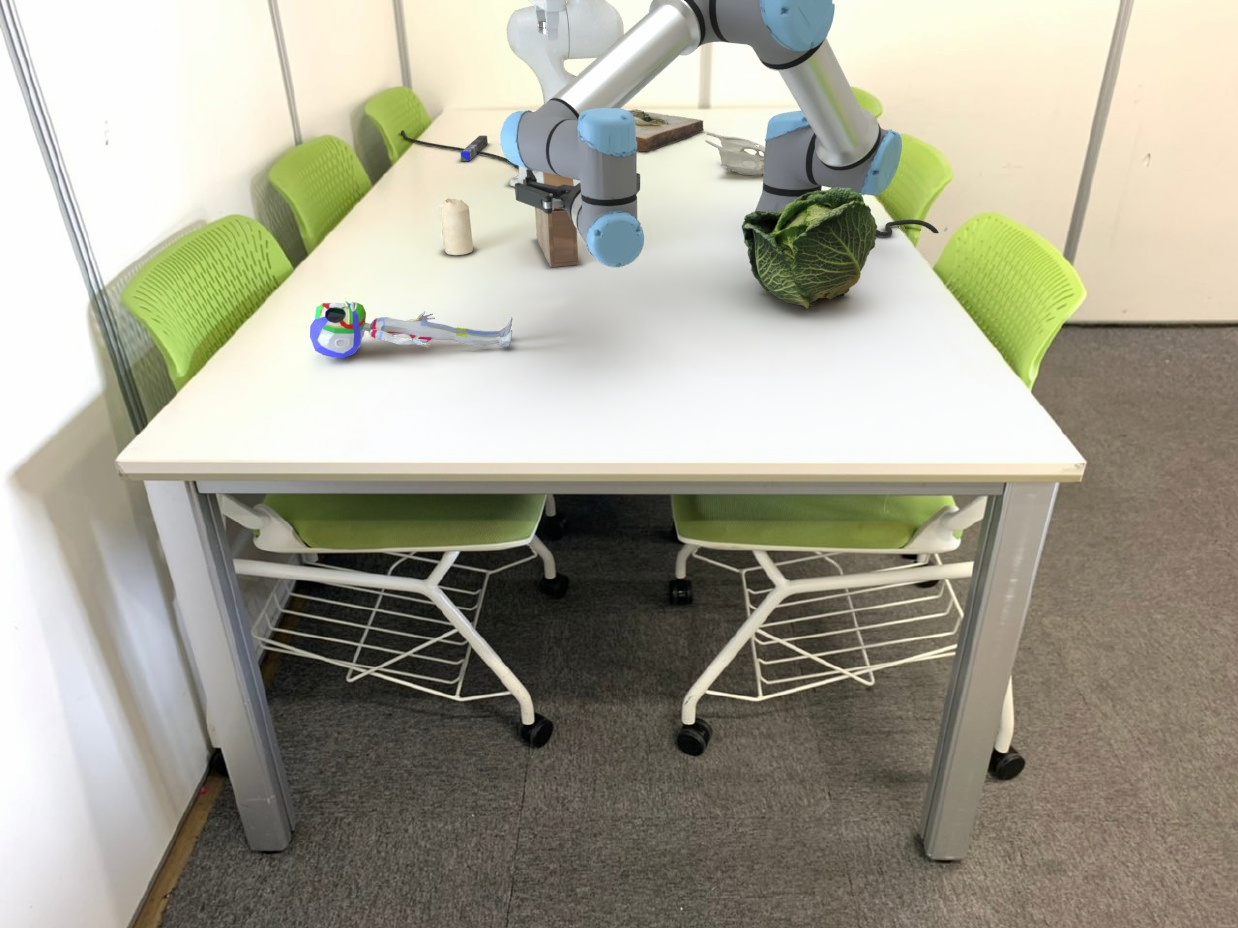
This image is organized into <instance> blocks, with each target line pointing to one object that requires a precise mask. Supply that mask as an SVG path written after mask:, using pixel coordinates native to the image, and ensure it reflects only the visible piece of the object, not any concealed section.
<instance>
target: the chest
mask: <svg viewBox="0 0 1238 928" xmlns="http://www.w3.org/2000/svg"><path fill="white" fill-rule="evenodd" d="M534 212H535V213H534V214H535V227H536V229H535V231H536V241H537V243H538V245H539V247H540V249H541V251H542V253H543V255H544V257H545V259H546V261H547V264H548V265H549V267H550V268H559V267H570V266H571V267H572V266H578V265H579V253H578V252H579V251H578V230H577V228H576V227H575V225H574V224H573V222H572V221H571V219H570V217H569V215H568V213H567V211H566V210H563V209H556V210H552V213H550V214H547V213H544V212H543V211H542V210H541V209H538V208H536V207H534Z"/></svg>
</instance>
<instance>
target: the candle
mask: <svg viewBox="0 0 1238 928" xmlns="http://www.w3.org/2000/svg"><path fill="white" fill-rule="evenodd" d="M470 213H471V212H470V206H469V205H468V204H467V203H466V202H464V201H463V200H462V199H456V198H446V200H444V202H443V203H442V204H441V206H440V207H439V214H440V215H439V216H440V223H441V230H442V231H441V232H442V238H443V239H442V240H443V247H444V252H445V254H447V255H451V256H463V255H467V254H470V253H472V252H473V250H474V244H473V243H474V242H473V233H472V225H471V224H472V223H471V215H470Z"/></svg>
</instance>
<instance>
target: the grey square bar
mask: <svg viewBox="0 0 1238 928" xmlns="http://www.w3.org/2000/svg"><path fill="white" fill-rule="evenodd" d="M488 143H489V142H488V135H478V136H477V137H476V138H474V139H473V140H472V142H471V143H469V144H468V145H467V146H466V147H465V148H464V150H463V151H460V162H470V161H471V160H472V159H473V158H475V157H476V156H477V155H478V154H477V151H481V152H482V150H483V149H484V148H485V147H487V145H488Z"/></svg>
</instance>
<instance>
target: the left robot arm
mask: <svg viewBox="0 0 1238 928" xmlns="http://www.w3.org/2000/svg"><path fill="white" fill-rule="evenodd" d="M527 1H528V2H530V3H531V4H532V5H530V6H526V7H522V8H519V9H515V10H514V11H513V12H512V13H511V15H510V16H509V19H508V21H507V24H506V40H507V42H508V43H507V44H508V46H509V48H510V50H511V52H513V54H514V55H515V56H516V57H517V58H518V59H520V60H521V61H523V62H524V63H525V64H526V65H527V66H528V67H529V68H530V70H531V71H532V72H533V74H534V75H535V77H536V79H537V81H538V83H539V86H540V89H541V93H542V99H543V105H544V104H545V103H546V102H548V101H549V100H550V99H551V98H552V97H553V96H554V95H555V94H557V93H558V92H559V91H560V90H561V89H562V88H563V87H565V86H566V85H567V84H568V83H569V82H570V81H571V80H573V79H574V78H575V77H576V76H577V75H575V74H573V73H570V72H569V71H568V70H566V68H565V64H564V63H565V61H567V60H578V59H579V60H581V59H582V60H583V59H597V58H598V57H599V56H600V55H601V54H602V53H603V52H605V51H606V50H607V49H608V48H609V47H610V46H611V45H612V44H614V43H615V42H616V41H617V40H618V39H619V38H620V37H622V36H623V35H624V34H625V28H624V27H625V25H624V22H623V18H622V16H621V14H620V12H619V11H618V10H617V8H615V6H614V5H612V4H611V3H609V2H608V1H607V0H527ZM400 135H401V136H402V137H403V138H404V139H405V140H406V141H409V142H412V143H417V144H421V145H424V146H430V147H435V148H439V149H446V150H454V151H460V152H462V151H463V150H464V149H465V148H463V147H458V146H451V145H444V144H439V143H433V142H427V141H423V140H418V139H414V138H411V137H408V136H407V134H406V133H405V130H403V129H402V130H401V131H400ZM476 155H481V156H486V157H489V158H490V157H491V158H494V159H499V160H501V161H504V162H507V163H509V164H512V165H513V166H514V167H515V168H516V169H517V170H518V174H516V175H514V176H513V177H512V178H511V179H510V180H509V186H511V187H514V188H515V184H516V183H522V184H523V180H524V179H525V177H527V173H526V168H524V167H521V166H518V165H516V164H513V163H512V162H510V161H509V160H508V159H507V158H506V157H504V156H502V155H497V154H494V153H490V152H486V151H482V150H481V151H477V154H476ZM532 172H533V174H534V176H535V177H536V179H537V182H538V183H543V184H544V181H543V173H542V172H540V171H535V170H532ZM573 183H574V186H576V185H577V184H578V183H580V181H579V180H575V179H573Z"/></svg>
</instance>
